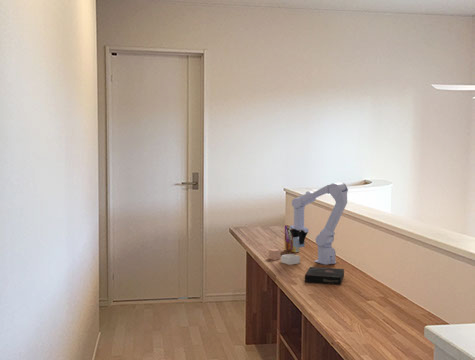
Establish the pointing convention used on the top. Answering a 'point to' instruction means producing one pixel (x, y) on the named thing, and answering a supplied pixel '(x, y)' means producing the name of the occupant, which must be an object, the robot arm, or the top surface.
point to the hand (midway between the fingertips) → (298, 243)
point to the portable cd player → (324, 275)
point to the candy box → (289, 240)
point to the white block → (290, 259)
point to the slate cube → (297, 242)
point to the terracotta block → (274, 254)
